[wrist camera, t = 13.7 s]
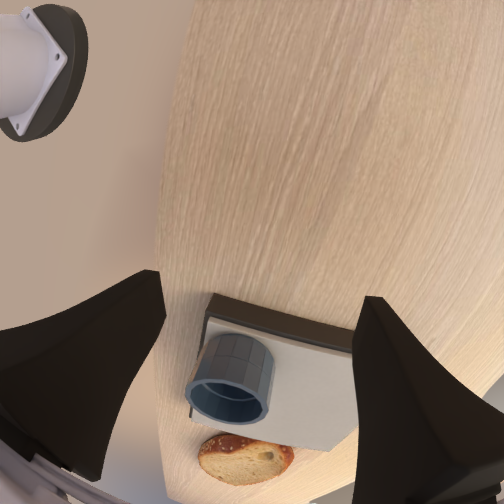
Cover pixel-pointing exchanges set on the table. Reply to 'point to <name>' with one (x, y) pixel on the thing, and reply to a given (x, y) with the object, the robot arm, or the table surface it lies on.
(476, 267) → the table surface
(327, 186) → the table surface
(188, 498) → the table surface
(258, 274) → the table surface
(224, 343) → the cup
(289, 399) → the scale
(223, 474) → the slice of bread
